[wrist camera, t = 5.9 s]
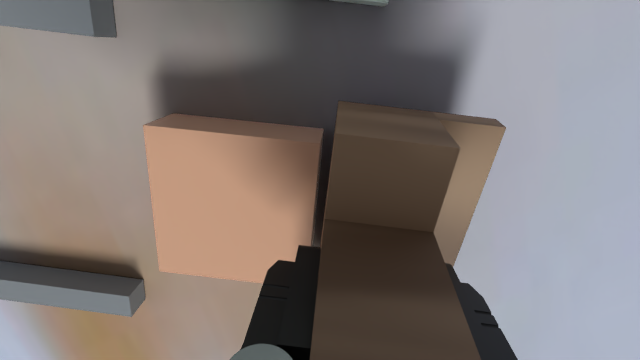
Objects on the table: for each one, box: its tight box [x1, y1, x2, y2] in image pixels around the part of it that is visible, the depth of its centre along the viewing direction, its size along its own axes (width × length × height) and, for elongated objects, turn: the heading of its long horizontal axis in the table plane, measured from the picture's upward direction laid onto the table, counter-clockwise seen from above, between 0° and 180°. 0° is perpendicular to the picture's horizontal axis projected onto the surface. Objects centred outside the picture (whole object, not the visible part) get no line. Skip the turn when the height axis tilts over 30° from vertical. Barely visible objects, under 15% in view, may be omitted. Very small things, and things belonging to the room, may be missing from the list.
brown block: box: [309, 101, 506, 360], centre depth 8 cm, size 8×5×11 cm, turn 174°
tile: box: [143, 113, 324, 283], centre depth 13 cm, size 6×6×2 cm
